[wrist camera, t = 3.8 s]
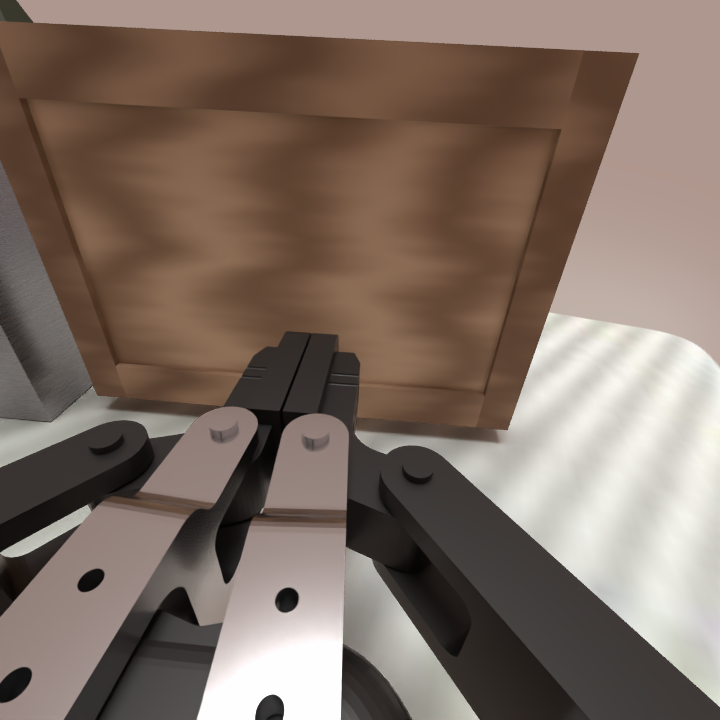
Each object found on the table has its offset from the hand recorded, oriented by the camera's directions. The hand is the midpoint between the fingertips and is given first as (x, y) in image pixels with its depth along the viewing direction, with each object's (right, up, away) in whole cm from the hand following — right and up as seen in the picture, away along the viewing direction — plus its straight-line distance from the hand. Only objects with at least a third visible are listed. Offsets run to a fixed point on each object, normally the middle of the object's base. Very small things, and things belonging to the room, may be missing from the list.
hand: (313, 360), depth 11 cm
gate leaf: (-2, -2, +9) cm, 10 cm away
